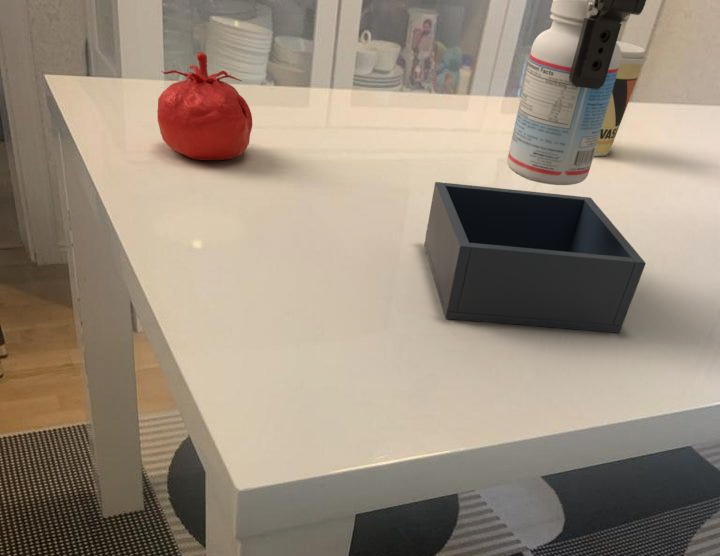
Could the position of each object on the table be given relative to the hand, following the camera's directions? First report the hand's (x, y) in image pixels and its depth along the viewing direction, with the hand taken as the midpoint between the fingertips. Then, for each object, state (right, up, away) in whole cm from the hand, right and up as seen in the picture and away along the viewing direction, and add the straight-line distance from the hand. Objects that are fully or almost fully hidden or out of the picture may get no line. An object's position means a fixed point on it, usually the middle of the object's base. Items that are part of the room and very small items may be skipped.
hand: (571, 74), depth 51 cm
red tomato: (-31, +7, +28) cm, 42 cm away
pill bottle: (-1, -5, +4) cm, 7 cm away
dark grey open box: (-2, -12, +10) cm, 16 cm away
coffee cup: (+15, +16, +47) cm, 52 cm away
